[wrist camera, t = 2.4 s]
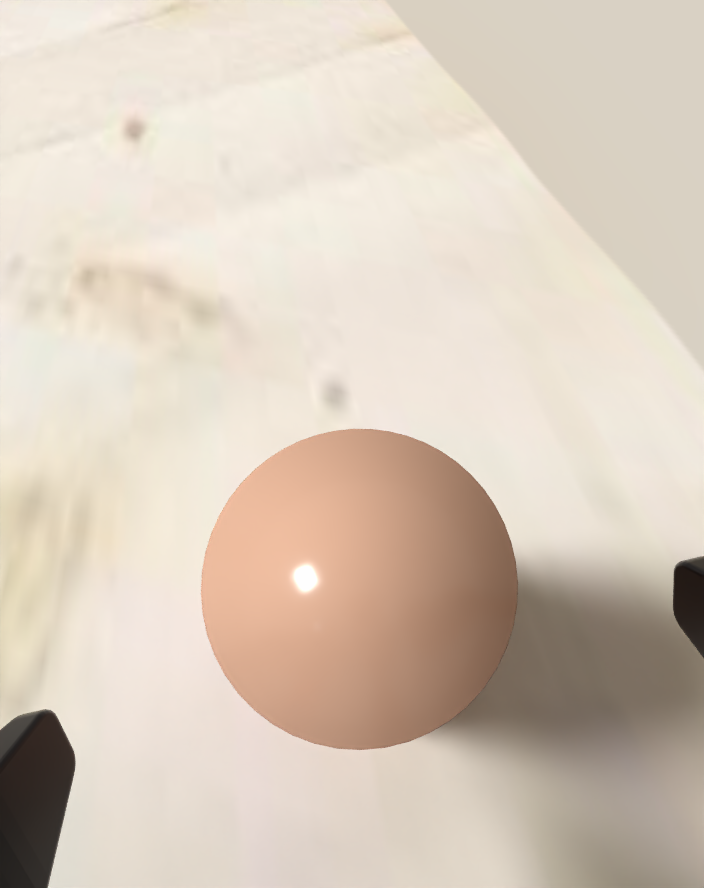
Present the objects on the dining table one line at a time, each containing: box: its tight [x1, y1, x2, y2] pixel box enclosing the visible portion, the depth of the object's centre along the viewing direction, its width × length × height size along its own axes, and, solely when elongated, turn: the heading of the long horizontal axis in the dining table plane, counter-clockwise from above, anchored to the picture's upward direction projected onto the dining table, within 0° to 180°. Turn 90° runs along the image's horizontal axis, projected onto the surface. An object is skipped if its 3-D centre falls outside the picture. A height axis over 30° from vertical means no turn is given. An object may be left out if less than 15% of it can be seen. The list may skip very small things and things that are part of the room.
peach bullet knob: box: [201, 429, 518, 750], centre depth 12 cm, size 5×5×9 cm
